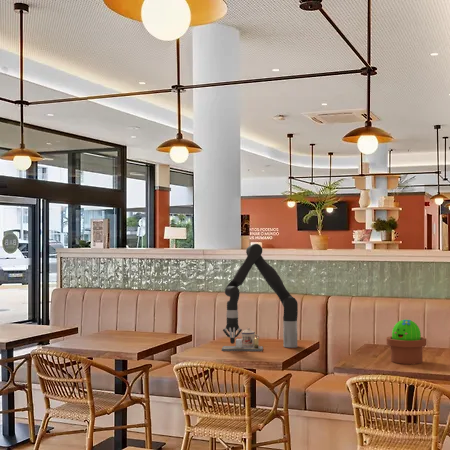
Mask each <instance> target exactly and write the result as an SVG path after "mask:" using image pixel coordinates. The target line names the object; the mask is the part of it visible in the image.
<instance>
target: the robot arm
mask: <svg viewBox="0 0 450 450" xmlns="http://www.w3.org/2000/svg"><path fill="white" fill-rule="evenodd" d="M245 253H246V258H245V260H244V262H243V263H242V264H241V265H240V266H239V268H238V269H237V270H236V273H235V274H234V276H233V278H232V279H231V280H230V282H229V283H228V284H227V285H226V287H225V289H224V294H225V296H227V297H229V300H228V301H227V303H226V314H225V315H226V316H225V317H226V326H225V327H224V328H222V331H223V333H224V334H225V335H226V336H227V337H228V338H229V339H230V340H229V341H230V344H231V345H232V344H233V345H235V344H236V338H237V337H238V336H239V335H240V334H241V333H242V331H243V329H242V328H240V326H239V310H238V309H239V308H238V306H239V304H238V303H239V299H240V288H239V287H241V286H243V283H244V282H245V280H246V278H247V277H248V275H249V273H250V271H251V269H252V268H253V266H254V265H255V266H256V268H257V270H258V271H259V273H260V274H261V276H262V277H263V279H264V281H265V282H266V283H267V286H269V287H270V288H271V290H272V291H273V292H274V293H275V294H276V296H277V297H278V298H279V300H280V302H281V304H282V307H283V317H282V319H283V321H282V323H283V324H282V325H283V327H282V328H283V330H282V331H283V334H282V335H283V338H282V339H283V347H284V348H290V349H291V348H293V349H294V348H298V312H299V311H298V306H299V305H298V301H297V299H296V298H295V297H294V296H292V294H291V293H290V292H289V291H288V290H287V288H286V286H285V283H283V280H282V278H281V276H280V275H279V273H278V271H276V269H275V268H274V267H273V266H271V265H270V264H269V263H268V262H267V261H266V260H265V259H264V257H263V256H262V255H263V254H262V253H263V247H262V246H261V245H260V244H259V243H253V244H251V245H248V246H247V247H246V251H245ZM237 331H238V332H237ZM228 332H229V333H228ZM236 332H237V333H236Z"/></svg>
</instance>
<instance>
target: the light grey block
mask: <svg viewBox="0 0 450 450" xmlns="http://www.w3.org/2000/svg"><path fill="white" fill-rule="evenodd" d="M235 346H236V348H242V346H243V345H242V338H235Z"/></svg>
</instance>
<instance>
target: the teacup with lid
mask: <svg viewBox="0 0 450 450" xmlns="http://www.w3.org/2000/svg"><path fill="white" fill-rule="evenodd" d="M255 336H256V337H255ZM254 338H258V341H259V339H260V335H258V334H256V331H254V330H252V329H250V327H247V328H246V329H244V330H242V331H241V339H242V346H254Z"/></svg>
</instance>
